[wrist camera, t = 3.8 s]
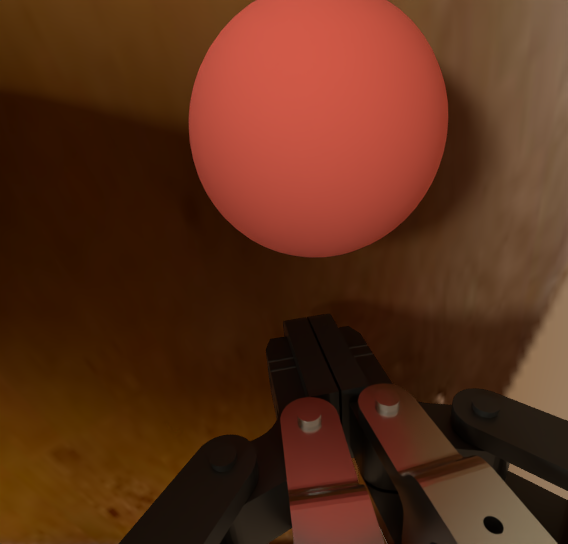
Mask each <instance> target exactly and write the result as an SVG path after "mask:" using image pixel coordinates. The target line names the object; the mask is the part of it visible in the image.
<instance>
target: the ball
mask: <svg viewBox="0 0 568 544" xmlns="http://www.w3.org/2000/svg"><path fill="white" fill-rule="evenodd" d="M447 129H448V100H447V94H446V87H445V83H444V79H443V76H442V72H441V69H440V66H439V64H438V62H437V59H436V57H435V55H434V53H433V50H432V49H431V47H430V45H429V43H428V42H427V40H426V38H425V37H424V35H423V34H422V32H421V31H420V30H419V29H418V27H417V26H416V25H415V24H414V23H413V21H412V20H411V19H410V18H409V17H408V16H407V15H405V14H404V13H403V12H402V11H401V10H400V9H399V8H398V7H396V6H395V5H393V4H392V3H390V2H389V1H387V0H256V1H254V2H253V3H251V4H249V5H248V6H247V7H246V8H244V9H243V10H242V11H241V12H240V13H238V14H237V15H236V16H235V17H234V18H233V19H232V20H231V21H230V22H229V23H228V24H227V25H226V26H225V27H224V29H223V30H222V31H221V32H220V33H219V35H218V36H217V38H216V39H215V41H214V42H213V44H212V45H211V46H210V48H209V50H208V52H207V54H206V56H205V58H204V60H203V62H202V64H201V66H200V68H199V71H198V74H197V77H196V80H195V83H194V86H193V91H192V96H191V101H190V110H189V138H190V145H191V151H192V156H193V161H194V164H195V167H196V170H197V173H198V176H199V178H200V181H201V183H202V185H203V187H204V189H205V191H206V193H207V195H208V196H209V198H210V199H211V201H212V203H213V204H214V206H215V207H216V208H217V209H218V211H219V212H220V213H221V214H222V215H223V217H224V218H225V219H226V220H227V221H228V222H230V223H231V224H232V225H233V226H234V227H235V228H236V229H237V230H238V231H240V232H241V233H243V234H244V235H245V236H247V237H248V238H249V239H251V240H253V241H254V242H256V243H258V244H260V245H262V246H264V247H266V248H269V249H271V250H274V251H277V252H280V253H284V254H289V255H293V256H301V257H310V258H313V257H330V256H337V255H342V254H345V253H349V252H353V251H355V250H358V249H360V248H363V247H365V246H368V245H370V244H372V243H374V242H375V241H377V240H379V239H381V238H383V237H384V236H385V235H387V234H388V233H390V232H391V231H392V230H394V229H395V228H396V227H397V226H398V225H400V224H401V223H402V222H403V221H404V220H405V219H406V218H407V217H408V216H409V215H410V214H411V213H412V212H413V210H414V209H415V208H416V207H417V205H418V204H419V203H420V201H421V200H422V199H423V197H424V196H425V194H426V192H427V191H428V189H429V187H430V185H431V184H432V182H433V180H434V177H435V175H436V173H437V170H438V168H439V165H440V162H441V159H442V156H443V153H444V148H445V143H446V138H447Z"/></svg>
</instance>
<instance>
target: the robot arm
mask: <svg viewBox="0 0 568 544" xmlns="http://www.w3.org/2000/svg"><path fill="white" fill-rule="evenodd" d="M283 326H284V337H280V338H274V339H270V341H269V343H268V346H267V348H266V356H267V364H268V372H269V380H270V388H271V393H272V398H273V403H274V408H275V412H276V418H277V421H276V423H275V424H274V426H273V427H272V428H271V429H270V430H269V431H268V432H267V433H265V434H264V435H262V436H260V437H259V438H257V439H255V440H253V441H251V442H250V441H248V440H247V439H246V438H244V437H241V436H238V435H223V436H219V437H216V438H214V439H212V440H210V441H208V442H207V443H205V444H204V445H203V446H202V447H201V448H200V449H199V450H198V451H197V452H196V454H195V455H194V456H193V457H192V458H191V459H190V461H189V462H188V463H187V464H186V465H185V466H184V468H183V469H182V470H181V471H180V472H179V473H178V475H177V476H176V477H175V478H174V479H173V481H172V482H171V483H170V484H169V485H168V486H167V488H166V489H165V490H164V491H163V492H162V493H161V495H160V496H159V497H158V498H157V499H156V500H155V502H154V503H153V504H152V505H151V506H150V508H149V509H148V510H147V511H146V512H145V513H144V515H143V516H142V517H141V518H140V519H139V520H138V522H137V523H136V524H135V525H134V526H133V528H132V529H131V530H130V531H129V532H128V533H127V535H126V536H125V537H124V538H123V539H122V540H121V542H120V543H119V544H268V543H269V542H271V541H272V540H274V539H275V538H277V537H278V536H280V535H282V534H283V533H285V532H286V531H288V530H289V529H291V528H292V530H293V539H294V544H384V541H383V537H382V534H383V536H384V538H385V540H386V542H387V544H568V500H566V499H564V498H562V497H560V496H558V495H556V494H554V493H552V492H550V491H548V490H546V489H544V488H542V487H540V486H538V485H536V484H534V483H532V482H530V481H528V480H526V479H524V478H522V477H520V476H518V475H516V474H514V473H511V472H510V471H508V468H509V463H511V464H513V465H515V466H517V467H519V468H521V469H523V470H525V471H527V472H529V473H532V474H534V475H536V476H538V477H540V478H542V479H544V480H546V481H548V482H550V483H552V484H554V485H556V486H558V487H560V488H563V489H565V490H567V491H568V421H567V420H564V419H561V418H559V417H556V416H553V415H551V414H549V413H546V412H543V411H541V410H538V409H535V408H533V407H530V406H528V405H525V404H523V403H520V402H518V401H515V400H513V399H510V398H507V397H505V396H502V395H500V394H497V393H495V392H492V391H488V390H484V389H466V390H463V391H460V392H459V393H457V394H456V395H455V396H454V398H453V403H452V405H445V404H430V403H423V402H418V401H416V399H415V398H414V397H413V396H412V395H411V394H410V393H409V392H408V391H407V390H405V389H403V388H401V387H399V386H396V385H393V384H392V382H391V381H390V379H389V378H388V376H387V375H386V373H385V371H384V370H383V368H382V367H381V365H380V364H379V362H378V361H377V359H376V357H375V356H374V354H372V351H371V350H370V348H369V347H368V346H367V343H366V342H365V340H364V339H363V337H362V336H361V334H360V333H358V332H357V331H355V330H354V329H352V328H351V327H349V326H346V327H340V328H338V327H337V325H336V323H335V322H334V320H333V318H332V316H331V315H330V314H323V315H317V316H311V317H307V318H306V317H305V318H299V319H293V320H287V321H284V322H283ZM351 458H355V460H356V463H357V465H358V478H359V482H358V479H357V475H356V472H355V469H354V465H353V462H352V459H351ZM379 527H380V528H379ZM380 530H381V531H380ZM381 532H382V534H381Z"/></svg>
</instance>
